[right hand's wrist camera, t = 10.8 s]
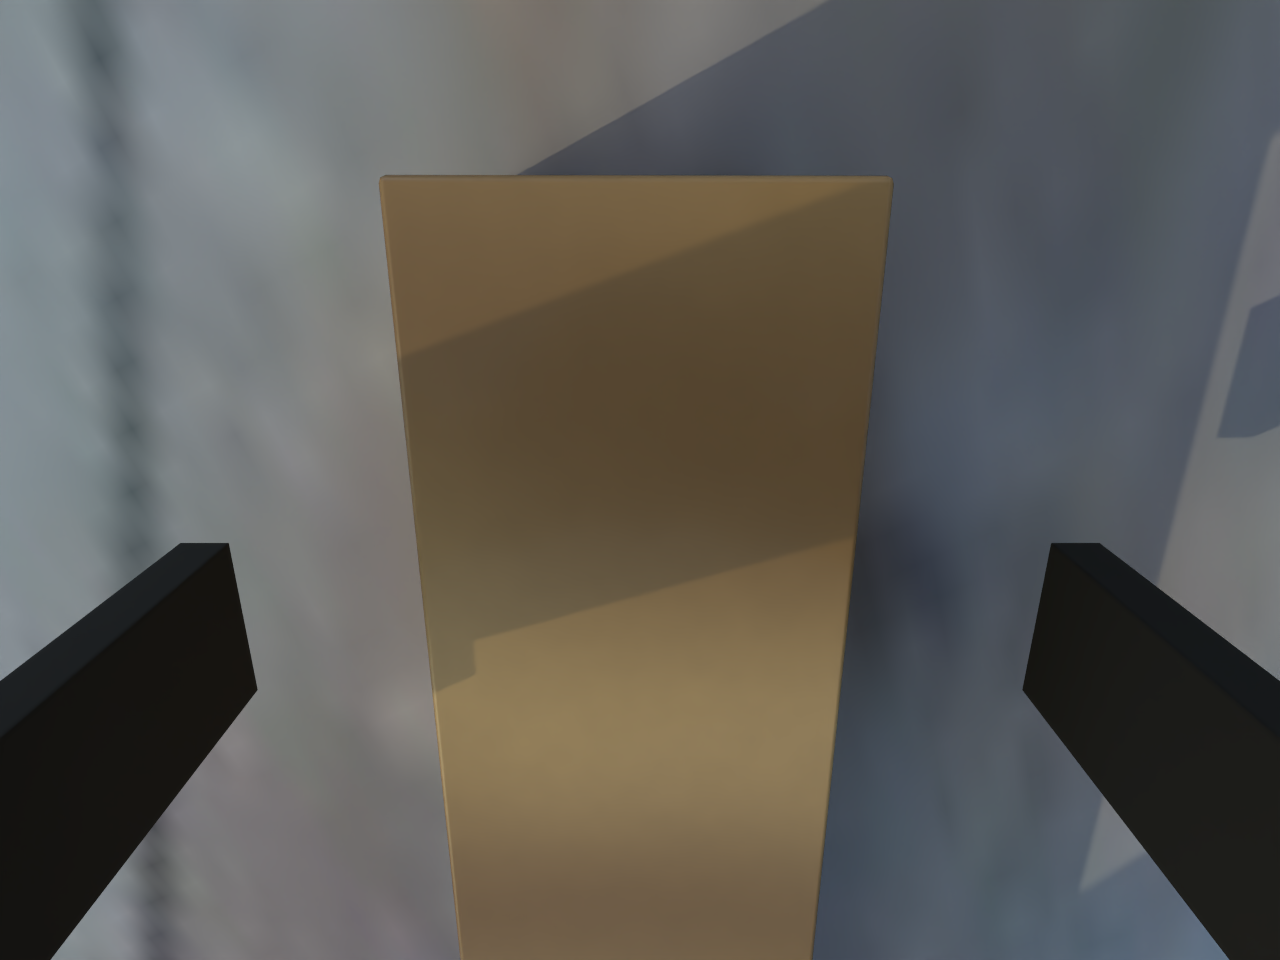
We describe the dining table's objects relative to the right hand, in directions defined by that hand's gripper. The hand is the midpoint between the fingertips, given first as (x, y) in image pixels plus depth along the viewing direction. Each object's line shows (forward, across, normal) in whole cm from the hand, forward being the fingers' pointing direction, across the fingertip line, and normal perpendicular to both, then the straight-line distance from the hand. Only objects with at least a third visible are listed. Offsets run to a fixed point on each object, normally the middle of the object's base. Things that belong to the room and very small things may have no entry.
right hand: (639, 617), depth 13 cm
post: (+4, 0, -29) cm, 29 cm away
